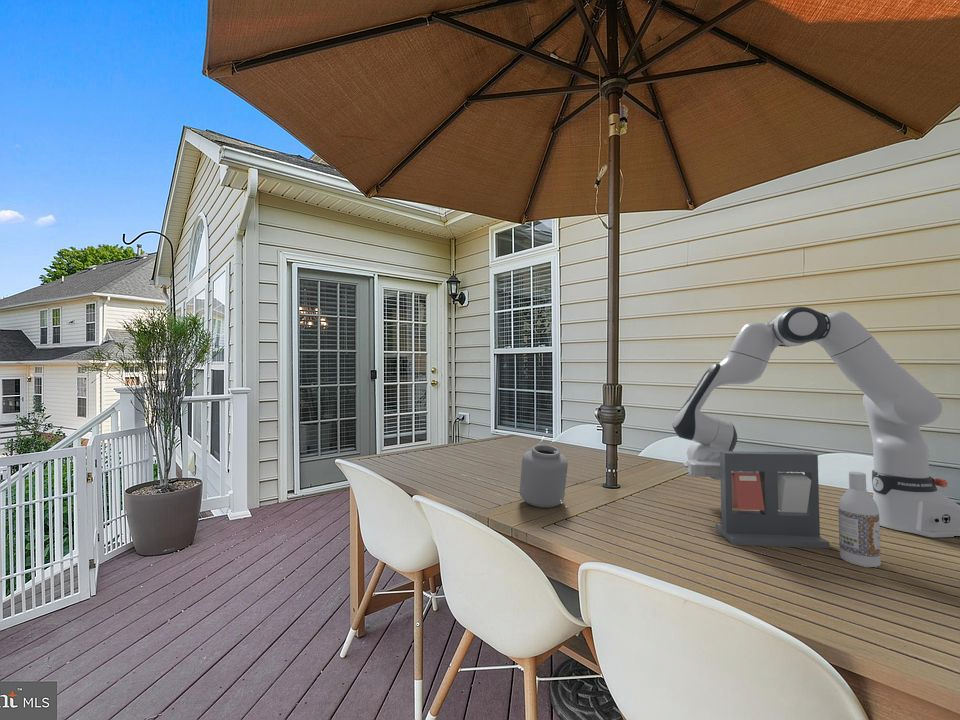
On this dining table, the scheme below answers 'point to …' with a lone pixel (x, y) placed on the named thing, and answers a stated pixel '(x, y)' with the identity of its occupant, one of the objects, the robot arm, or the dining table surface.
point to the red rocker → (746, 491)
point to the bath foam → (859, 524)
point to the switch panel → (770, 501)
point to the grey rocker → (793, 492)
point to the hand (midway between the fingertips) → (737, 475)
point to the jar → (543, 476)
